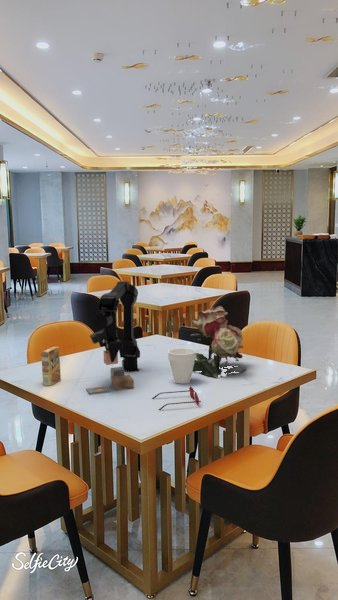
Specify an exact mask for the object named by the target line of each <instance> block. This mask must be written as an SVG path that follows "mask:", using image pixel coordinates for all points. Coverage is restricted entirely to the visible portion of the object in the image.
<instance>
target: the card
mask: <svg viewBox="0 0 338 600" xmlns="http://www.w3.org/2000/svg"><path fill="white" fill-rule="evenodd" d="M85 391H86V392H87V393H88V395H89V396H90V395H98V394H105V393H111V392H112V391H111V388H110V387H109V386H108V385H104V386H96V387H88V388H85Z"/></svg>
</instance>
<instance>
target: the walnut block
mask: <svg viewBox="0 0 338 600" xmlns="http://www.w3.org/2000/svg"><path fill="white" fill-rule="evenodd" d="M110 379H111V387H113V389H114V390H115V391H121V390H122V391H123V390H131V389H132V390H133V389H135V386H134V384H135V383H134V382H135V381H134V380H135V379H134V378H133V377H132V376H131V375H130V374H126V375H122V376H111V375H110Z"/></svg>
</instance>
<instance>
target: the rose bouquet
mask: <svg viewBox="0 0 338 600" xmlns="http://www.w3.org/2000/svg"><path fill="white" fill-rule="evenodd" d="M197 314H198V316H199V319H198V320H194V319H193V320H191V322H192V323H193V324H194V326H195V327H196V328H197V330H198V331H199V332H201V333H192V334H190V337H205V338H203V339H209V341H210V343H209V346H208V357H207V356H205V355H204V353H199V352H196V359H195V362H194V366H193V371H202V372H201V373H200V374H201V375H204V376H207V377H213V378H216V379H219V378H218V375H219V374H220V372H221V370H220V369H219V367H220V368H222V367H223V369H227V371H226V372H224V373H225V374H226V373H227V374H228V373H231V372H234V371H235V372H240V373H242V372H244V371H245V369H247V366H243V367H242V366H241V365H237V366H238V367H234V366H232V367H233V368H230V369H228V368H224V367H227V366H230V365H231V364H230V363H228V362H229V361H228V358H233V359H235V361H236V362H240V360H239V359H242V358H243V354H241V352H239V350H240V349H241V348H244V345H243V344H242V341H243V339H244V338H243V334H242V333H243V331H242V330H241V329H240V328H239V327H237V326H234V325H233V326H232V325H231V324H228V322H229V320H227V319H226V317H227V315H228V314H229V312H227V311H226V310H225V308H223V306H221V305H217V306H216V307H212V306H211V308H208V309H205V311H199V312H197ZM197 341H202V338H197ZM204 350H207V349H204ZM212 356H213V357H212ZM224 358H225V360H226V361H225V362H224V363H223V362H222V359H224ZM221 362H222V364H221ZM219 371H220V372H219ZM228 375H229V374H228Z"/></svg>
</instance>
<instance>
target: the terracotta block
mask: <svg viewBox="0 0 338 600" xmlns="http://www.w3.org/2000/svg"><path fill="white" fill-rule="evenodd" d="M103 363H104V364H105V365H106V366H111V365H118V364H119V352H118V353H117V356H116V358H115V360H114V362H111V359H110V354H109V350H107V351H106V350H103Z"/></svg>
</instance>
